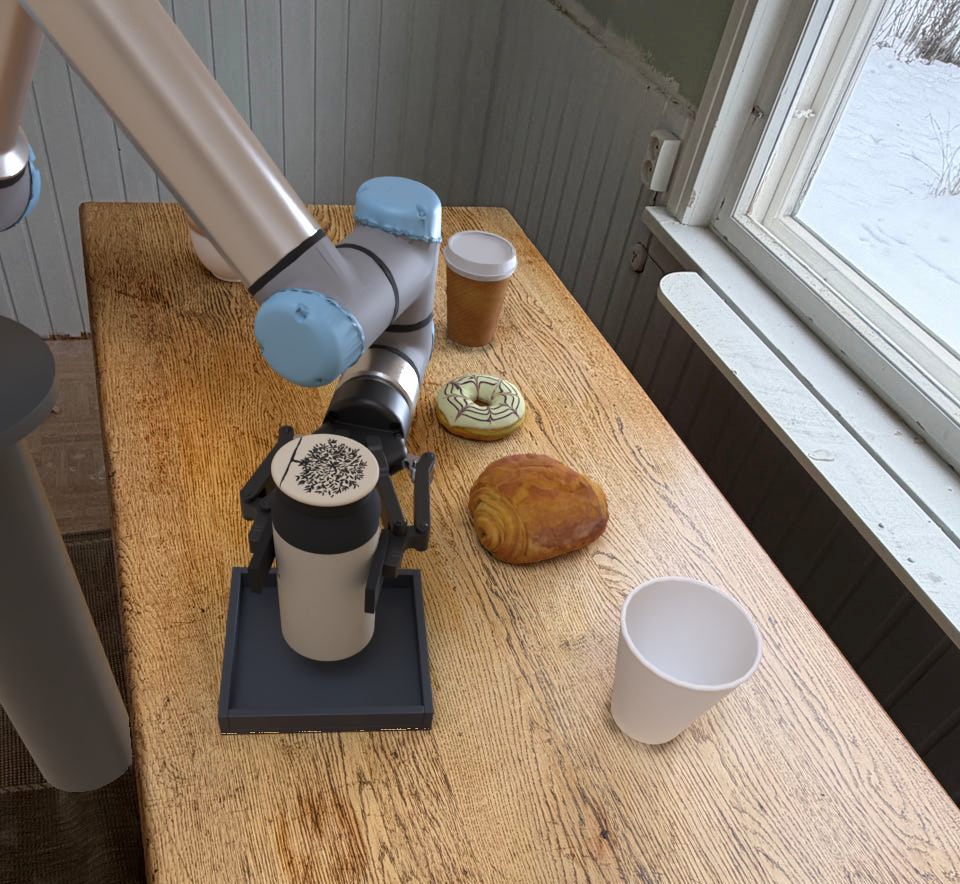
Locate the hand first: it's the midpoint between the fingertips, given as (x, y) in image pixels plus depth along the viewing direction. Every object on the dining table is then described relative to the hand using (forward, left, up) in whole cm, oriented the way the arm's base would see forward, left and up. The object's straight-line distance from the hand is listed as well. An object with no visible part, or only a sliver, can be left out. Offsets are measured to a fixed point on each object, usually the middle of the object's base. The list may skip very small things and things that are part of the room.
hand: (312, 591), depth 60 cm
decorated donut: (+19, +41, -14) cm, 47 cm away
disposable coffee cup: (+20, +60, -14) cm, 64 cm away
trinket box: (-12, +72, -14) cm, 74 cm away
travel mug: (+1, +5, -10) cm, 11 cm away
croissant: (+23, +23, -14) cm, 35 cm away
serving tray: (+1, +5, -14) cm, 15 cm away
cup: (+30, -2, -14) cm, 33 cm away
